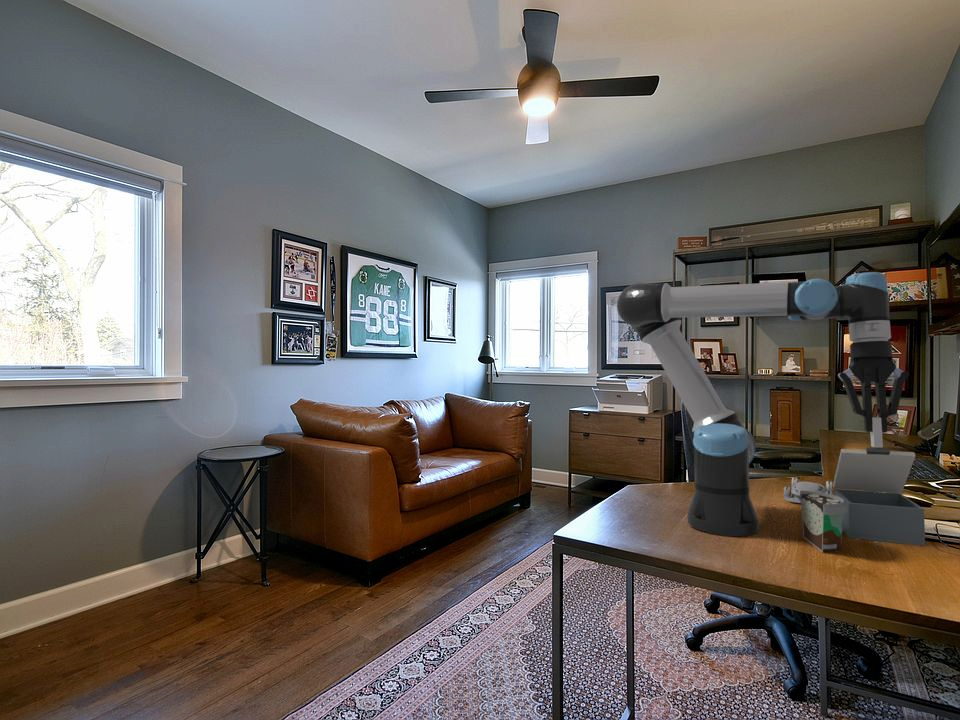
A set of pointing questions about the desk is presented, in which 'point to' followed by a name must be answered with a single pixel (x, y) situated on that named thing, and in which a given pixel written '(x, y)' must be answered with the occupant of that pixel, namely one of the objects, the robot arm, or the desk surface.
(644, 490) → the desk surface
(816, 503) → the food container
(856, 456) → the box lid
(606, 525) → the desk surface
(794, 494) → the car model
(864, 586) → the desk surface
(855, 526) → the storage box
